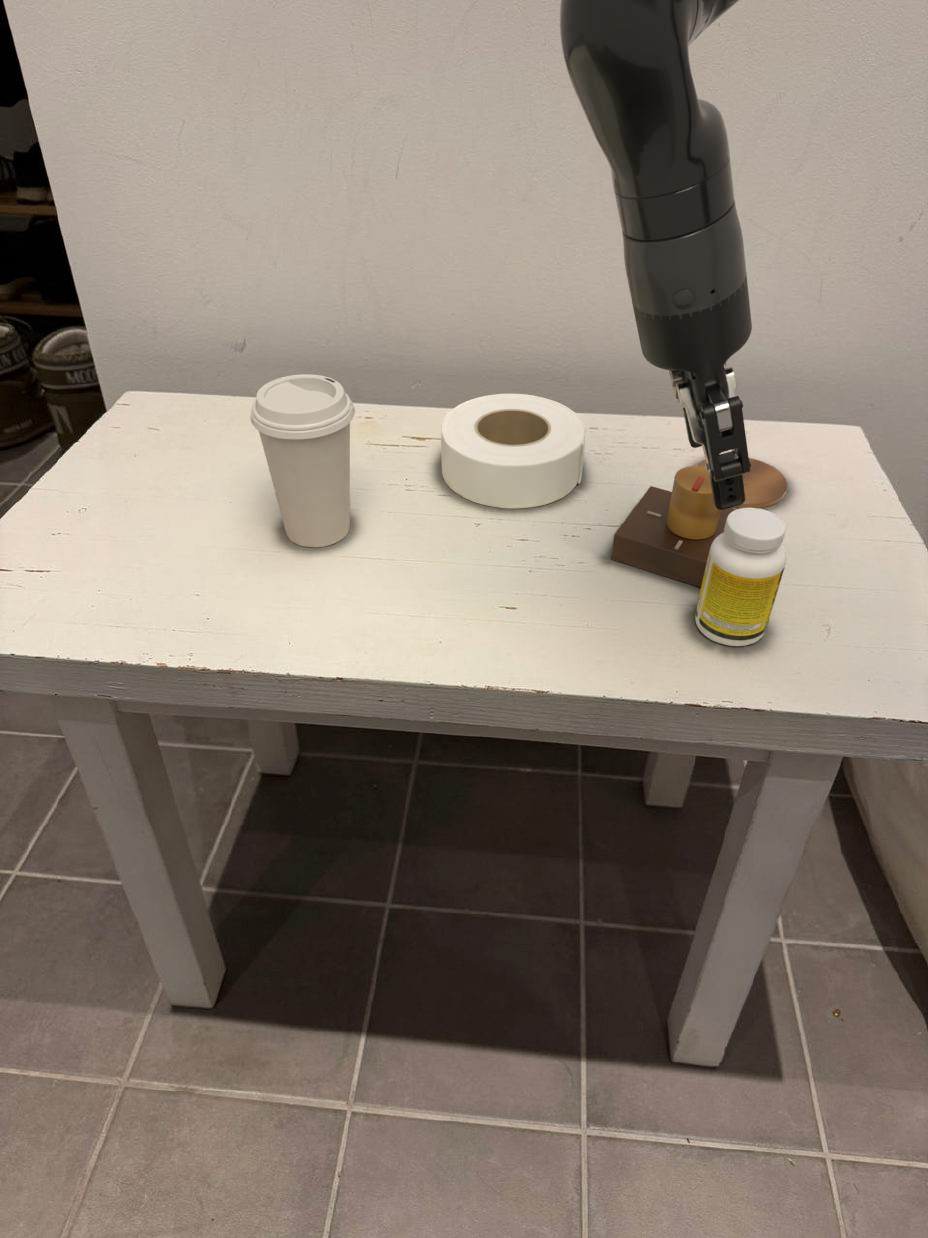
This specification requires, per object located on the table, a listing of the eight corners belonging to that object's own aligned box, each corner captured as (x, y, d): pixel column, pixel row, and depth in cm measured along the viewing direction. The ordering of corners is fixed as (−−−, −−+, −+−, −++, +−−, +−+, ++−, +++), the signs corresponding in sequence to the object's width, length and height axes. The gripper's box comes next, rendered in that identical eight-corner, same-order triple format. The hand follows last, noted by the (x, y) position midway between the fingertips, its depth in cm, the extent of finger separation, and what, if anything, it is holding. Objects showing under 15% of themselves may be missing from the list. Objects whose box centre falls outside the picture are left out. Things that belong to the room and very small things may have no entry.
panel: (760, 542, 87) (767, 516, 85) (731, 597, 80) (738, 570, 78) (646, 509, 91) (650, 484, 89) (610, 559, 85) (614, 532, 83)
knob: (674, 507, 86) (683, 458, 83) (722, 519, 85) (733, 470, 81) (660, 531, 83) (669, 482, 79) (709, 544, 81) (721, 495, 78)
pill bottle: (776, 646, 75) (809, 542, 68) (707, 652, 75) (733, 548, 67) (749, 601, 80) (777, 499, 73) (684, 606, 79) (706, 504, 72)
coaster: (795, 474, 97) (797, 469, 96) (772, 518, 90) (774, 513, 90) (708, 452, 100) (709, 447, 100) (680, 492, 94) (681, 487, 94)
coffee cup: (378, 541, 87) (368, 404, 77) (287, 566, 84) (264, 426, 74) (345, 495, 93) (332, 362, 84) (259, 516, 90) (234, 382, 80)
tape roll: (573, 517, 90) (578, 470, 87) (426, 499, 93) (425, 453, 89) (588, 443, 102) (593, 400, 98) (457, 430, 104) (457, 386, 101)
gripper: (776, 309, 52) (792, 514, 63) (717, 222, 62) (740, 411, 73) (651, 348, 53) (688, 542, 64) (614, 257, 64) (651, 437, 74)
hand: (716, 472), depth 69 cm, fingers open, 8 cm apart
